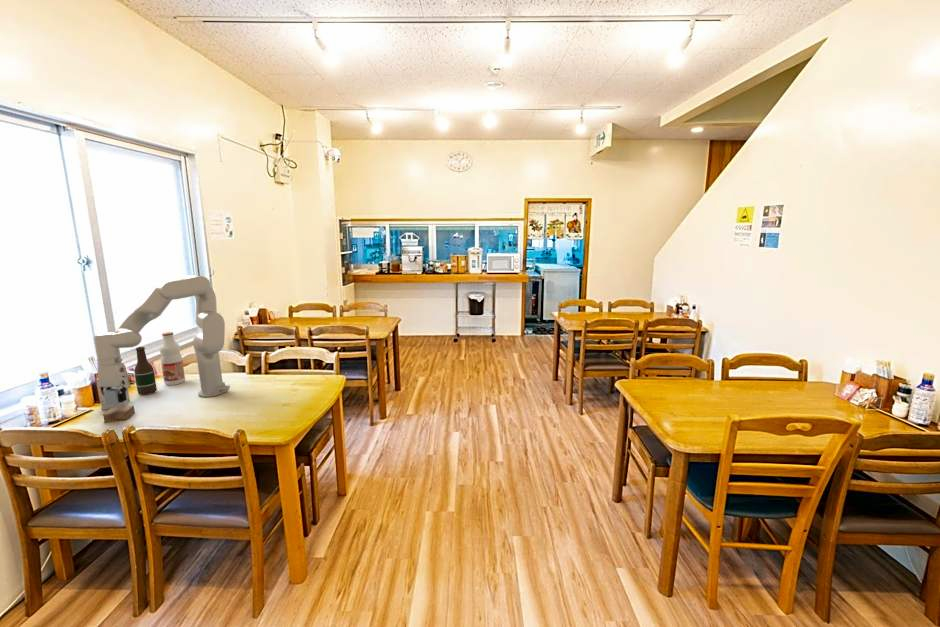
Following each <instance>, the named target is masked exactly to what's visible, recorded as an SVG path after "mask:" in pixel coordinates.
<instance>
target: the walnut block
mask: <svg viewBox="0 0 940 627" xmlns="http://www.w3.org/2000/svg"><path fill="white" fill-rule="evenodd" d="M135 411H136V410H135V405H132V404H131V405H126V406H123V407H114V408H110V409H108V410H107V411H106V412H105V413H103V414H102V417H103V418H102V419H103V422H104V424H106V423H115V422H122V421H123V422H124V421H127V420H129V419H130V418H131V417H132V416H134V415H135V414H136V412H135Z"/></svg>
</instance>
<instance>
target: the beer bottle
mask: <svg viewBox="0 0 940 627" xmlns="http://www.w3.org/2000/svg"><path fill="white" fill-rule="evenodd" d="M145 349H146V347H144V346H138V347H136V348H135V351H136V358H137V359H136V360H137V363H136V365H135V366H134V369H133V372H134V379H135V385H136V391H137V394H138V395H140V396H146V395H147V396H148V395H151V393H152V394H154V393H156V392H157V391H158V390H157V383H156V377H155V371H154V367H153V366H152V364H151V363H150V362H149V360H148V358H147V355H146V351H145ZM155 391H156V392H155Z"/></svg>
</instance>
